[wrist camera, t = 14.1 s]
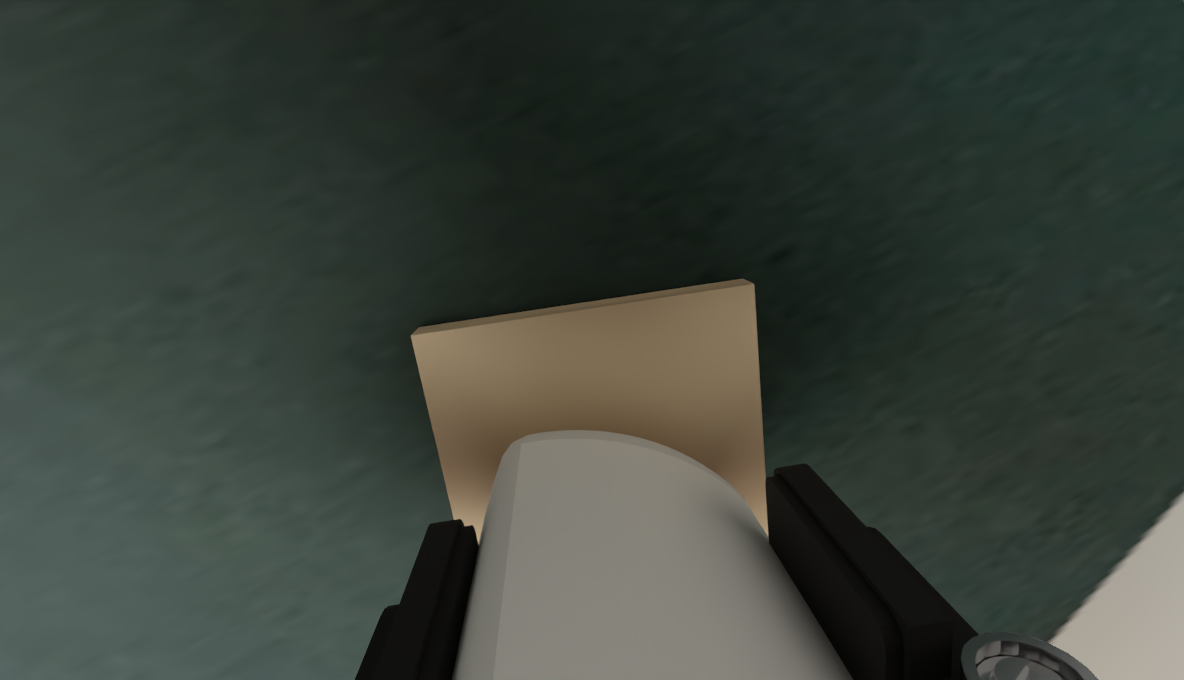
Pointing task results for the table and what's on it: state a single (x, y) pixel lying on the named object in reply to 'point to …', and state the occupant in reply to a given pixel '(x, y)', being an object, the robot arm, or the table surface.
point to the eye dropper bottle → (629, 573)
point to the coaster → (600, 384)
